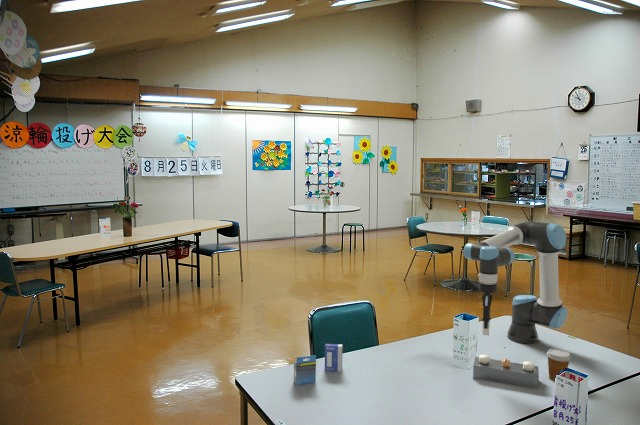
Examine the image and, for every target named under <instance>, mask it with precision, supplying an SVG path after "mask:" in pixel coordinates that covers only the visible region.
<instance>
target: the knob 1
mask: <svg viewBox="0 0 640 425" xmlns="http://www.w3.org/2000/svg"><path fill="white" fill-rule="evenodd" d="M478 357H479V362H480V363H481V364H488V363H489V359H491V358H490V355H487V354H479V355H478Z"/></svg>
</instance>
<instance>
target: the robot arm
mask: <svg viewBox="0 0 640 425" xmlns="http://www.w3.org/2000/svg"><path fill="white" fill-rule="evenodd" d="M566 242H567V234H566V229H565V228H564V227H563V226H562V225H561V224H557V223H553V222H541V221H534V220H527V221H523V222H518V223H515V224H513V225H511V226H509V227H507V229H506V230H505V231H502V232H500V233H498V234H496V235H494V236H491V237H489V238H487V239H484V240H483V241H480V242H478V243H473V242H469V243H468V242H467V243H466V244H465V245H464V246H463V247H464V248H463V251H462V252H463V256H464V258H465V259H467V260H471V261H475V262H479V270H478V272H479V273H478V274H477V277H478V281H479V282H478V291H479V292H481V293H482V296H481V297H482V298H481V299H482V309H483V310H482V318H481V319H480V320H481V321H482V336H488V337H489V336H490V323H491V322H490V321H491V320H492V317H491V307H492V301H493V295H492V294H494V293H497V290H498V279H499V278H498V270H499V269H498V268H499V267H504V266H508V265H510V264H512V263H514V262H515V258H516V255H515V252H514V251H513V249H511V248H509V247H511V246H513V245H515V246H516V245H517V246H518V245H520V244H524V245H525V244H526V245H533V246H534V247H535V248H534V249H535V252H536V253H537V254H538V269H539V272H538V274H539V276H538V278H539V298H538V297H537V296H536V295H532V294H520V295H519V294H518V295H515V296H514V297H513V299H512V307H511V309H512V310H511V324H510V326H509V328H508V331H507V338H508V339H509V340H511V341H513V342H516V343H520V344H535V343H536V344H537V342H539V341H538V340H539V335H538V331H537V327H536V325H541V326H543V327H547V328H549V329H550V328H551V329H556V330H559V329H561V328H562V327H563V325H564V324H565V323H566V320H567V319H568V318H567V317H568V312H569V311H568V308H567V307H565V306H563V301H562V299H560V298H559V296H560V295H559V294H560V292H559V291H560V290H559V286H560V285H559V282H560V281H559V253H561V252H562V249H564V248H565V246H566V245H567V244H566ZM483 293H484V294H483Z"/></svg>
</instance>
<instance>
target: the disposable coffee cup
mask: <svg viewBox="0 0 640 425" xmlns="http://www.w3.org/2000/svg"><path fill="white" fill-rule="evenodd" d="M546 356H547V365H548V378H549V380H551V381H553V382H555V378H556V375H557V374H558V373H559V372H560V371H561V370H563V369H565V368H569V363H570V361H571V358H572V357H571V354H570V352H568V351H566V350H563V349H560V348H559V349H558V348H550V349H548V350H547V352H546Z"/></svg>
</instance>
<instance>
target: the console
mask: <svg viewBox="0 0 640 425" xmlns="http://www.w3.org/2000/svg"><path fill="white" fill-rule="evenodd" d="M472 367H473V369H472V379H473V380H479V381H485V382H492V383H495V384H496V383H497V384H503V385H510V386H514V387H515V386H516V387H520V388H525V389H526V388H527V389H533V390H537V391H538V390H539V378H540V376H539V375H540V374H539V366H538V365H534V370H533V371H525V370H524V369H523V363H519V362H512V361H510V367H503V366H502V360H499V359H493V358H490V359H489V363H488V364H481V363H480V362H479V356H475V357H474V362H473V366H472Z"/></svg>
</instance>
